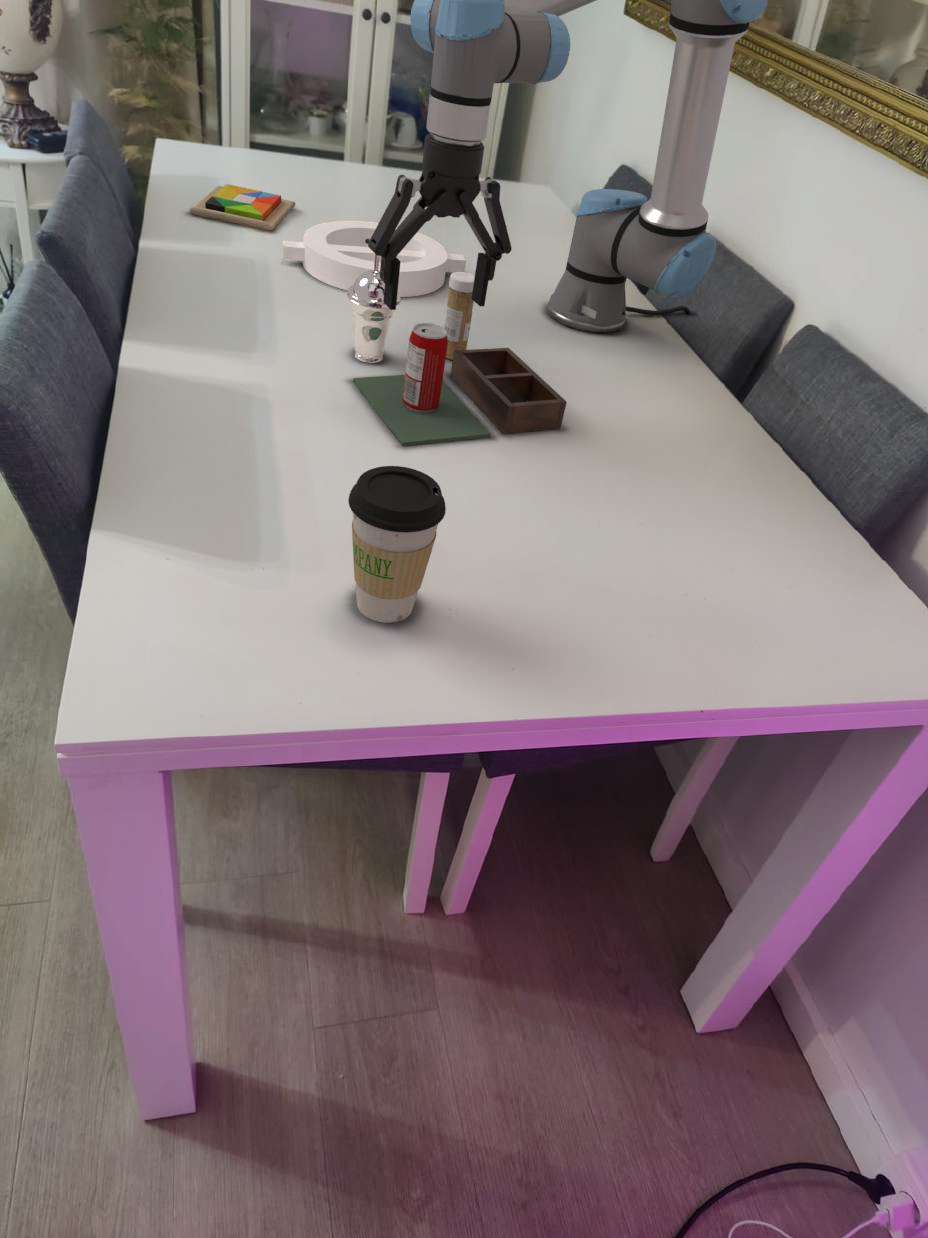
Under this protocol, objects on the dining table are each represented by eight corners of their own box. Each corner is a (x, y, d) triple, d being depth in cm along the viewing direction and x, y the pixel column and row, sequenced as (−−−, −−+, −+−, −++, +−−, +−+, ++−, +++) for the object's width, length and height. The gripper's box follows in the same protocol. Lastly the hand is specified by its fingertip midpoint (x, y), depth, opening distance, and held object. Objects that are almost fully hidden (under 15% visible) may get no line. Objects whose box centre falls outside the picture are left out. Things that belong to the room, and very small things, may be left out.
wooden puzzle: (187, 216, 186) (186, 198, 184) (220, 193, 201) (220, 176, 198) (269, 233, 186) (269, 215, 183) (296, 209, 200) (297, 192, 198)
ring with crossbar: (470, 276, 184) (474, 252, 181) (390, 308, 164) (393, 282, 161) (360, 235, 193) (362, 212, 190) (272, 261, 173) (272, 236, 170)
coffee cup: (340, 574, 102) (349, 458, 93) (426, 579, 104) (444, 466, 94) (339, 631, 95) (349, 511, 85) (432, 636, 96) (452, 519, 87)
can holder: (503, 373, 150) (508, 347, 148) (560, 428, 138) (567, 401, 135) (449, 376, 146) (453, 350, 143) (503, 434, 134) (509, 406, 131)
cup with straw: (405, 361, 148) (420, 235, 135) (364, 373, 142) (376, 243, 130) (370, 341, 152) (381, 217, 139) (329, 352, 146) (336, 224, 134)
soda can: (443, 403, 137) (454, 326, 130) (431, 417, 133) (442, 339, 126) (409, 393, 138) (419, 316, 131) (396, 406, 134) (405, 329, 126)
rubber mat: (434, 376, 146) (435, 372, 145) (490, 437, 132) (490, 433, 132) (352, 381, 140) (353, 377, 139) (402, 446, 127) (403, 442, 126)
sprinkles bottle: (471, 359, 153) (484, 280, 144) (448, 362, 150) (460, 281, 142) (456, 348, 155) (468, 269, 147) (434, 350, 153) (445, 271, 145)
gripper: (527, 133, 120) (500, 290, 134) (350, 124, 110) (340, 296, 123) (555, 149, 115) (524, 311, 129) (372, 141, 105) (360, 318, 118)
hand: (434, 304), depth 126 cm, fingers open, 13 cm apart
